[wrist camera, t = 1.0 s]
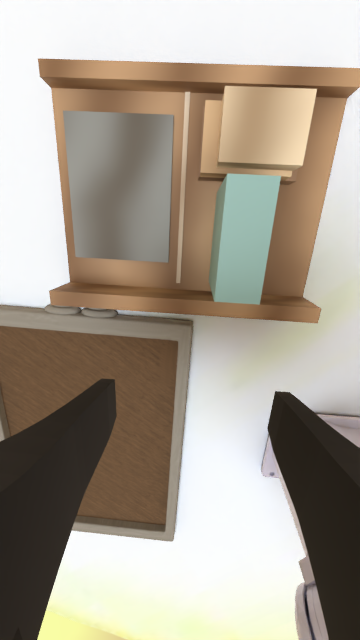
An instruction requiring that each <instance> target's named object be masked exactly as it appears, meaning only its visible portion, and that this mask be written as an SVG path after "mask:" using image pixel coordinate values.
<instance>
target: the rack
mask: <svg viewBox="0 0 360 640" xmlns="http://www.w3.org/2000/svg"><path fill="white" fill-rule="evenodd" d="M38 62H39V71H40V77H41V78H42V79H43V80H44V81H45V82H46V83H47V84H48V85H49V86H50V87H51V89H52V99H53V109H54V120H55V130H56V140H57V150H58V161H59V171H60V181H61V192H62V202H63V212H64V222H65V233H66V243H67V253H68V263H69V274H70V283H67V284H65V285H63V286H60V287H58V288H55V289H53V290H50V291H49V293H50V300H51V305H57V306H72V307H87V308H101V309H116V310H131V311H146V312H161V313H175V314H190V315H205V316H220V317H235V318H249V319H264V320H279V321H294V322H309V323H318V320H319V316H320V312H321V308H319V307H318V306H316V305H315V304H313V303H311V302H310V301H308V300H306V299H305V298H303V293H304V288H305V284H306V279H307V275H308V270H309V266H310V261H311V257H312V252H313V248H314V243H315V239H316V235H317V230H318V226H319V221H320V217H321V212H322V208H323V203H324V199H325V194H326V190H327V185H328V181H329V177H330V172H331V168H332V163H333V159H334V154H335V150H336V145H337V141H338V136H339V132H340V127H341V123H342V119H343V114H344V110H345V105H346V101H347V98H348V97H349V96H350V95H351V94H352V93H353V92H355V91H356V90H357V89H358V88H359V87H360V68H332V67H299V66H266V65H232V64H199V63H166V62H132V61H99V60H65V59H38ZM225 86H245V87H276V88H306V89H317V93H316V98H315V103H314V108H313V114H312V119H311V124H310V130H309V135H308V140H307V145H306V151H305V156H304V161H303V166H301V167H299V168H298V171H297V177H296V181H295V182H293V183H291V184H289V185H282V184H280V186H279V192H278V198H277V204H276V210H275V216H274V222H273V228H272V234H271V240H270V246H269V252H268V258H267V264H266V270H265V276H264V282H263V288H262V294H261V300H260V305H258V304H243V303H228V302H214V299H213V295H212V291H211V288H210V284H209V271H210V260H211V249H212V238H213V227H214V216H215V205H216V194H217V191H218V190H219V188H220V186H221V184H222V182H219V181H198V177H199V162H200V147H201V132H202V118H203V106H205V100H219V101H222V100H223V94H224V89H225Z"/></svg>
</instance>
